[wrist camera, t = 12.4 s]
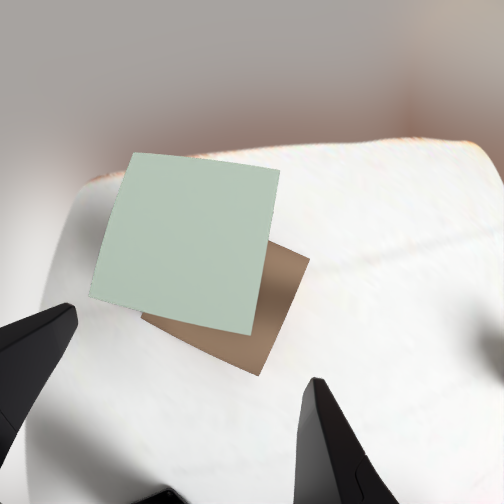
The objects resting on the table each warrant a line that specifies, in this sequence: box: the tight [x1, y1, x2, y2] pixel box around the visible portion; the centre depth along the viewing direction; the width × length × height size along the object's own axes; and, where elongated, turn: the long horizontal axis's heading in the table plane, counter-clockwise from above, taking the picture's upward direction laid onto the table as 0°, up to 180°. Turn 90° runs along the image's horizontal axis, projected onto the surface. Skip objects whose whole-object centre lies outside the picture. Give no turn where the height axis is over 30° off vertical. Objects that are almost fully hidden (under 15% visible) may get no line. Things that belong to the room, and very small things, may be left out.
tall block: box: [89, 152, 280, 336], centre depth 14 cm, size 5×5×12 cm
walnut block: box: [141, 240, 310, 376], centre depth 22 cm, size 9×9×4 cm
